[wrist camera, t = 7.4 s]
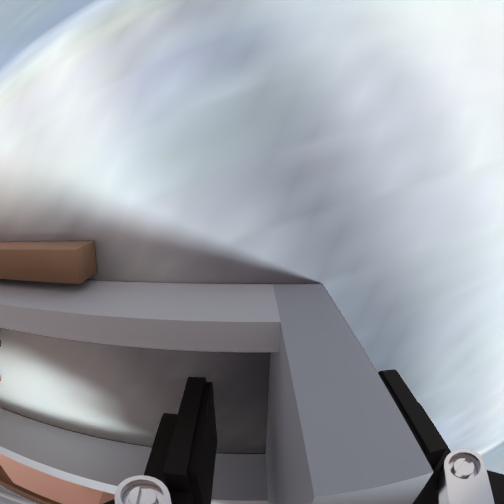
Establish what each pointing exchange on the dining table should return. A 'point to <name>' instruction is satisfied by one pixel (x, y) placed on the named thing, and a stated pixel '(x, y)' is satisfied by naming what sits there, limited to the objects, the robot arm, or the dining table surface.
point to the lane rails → (45, 270)
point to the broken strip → (52, 485)
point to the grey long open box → (279, 398)
